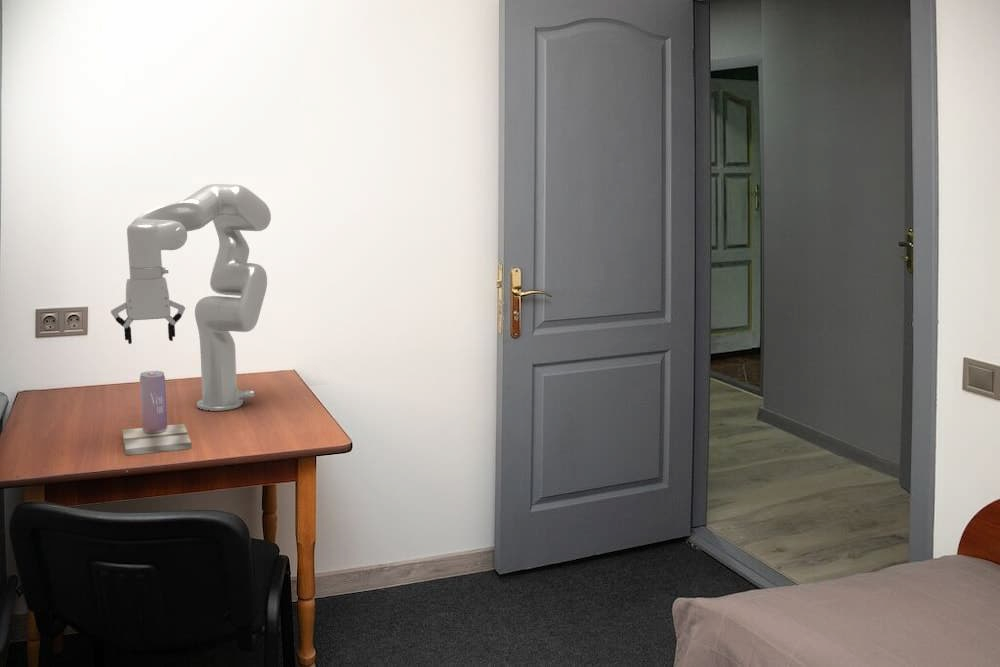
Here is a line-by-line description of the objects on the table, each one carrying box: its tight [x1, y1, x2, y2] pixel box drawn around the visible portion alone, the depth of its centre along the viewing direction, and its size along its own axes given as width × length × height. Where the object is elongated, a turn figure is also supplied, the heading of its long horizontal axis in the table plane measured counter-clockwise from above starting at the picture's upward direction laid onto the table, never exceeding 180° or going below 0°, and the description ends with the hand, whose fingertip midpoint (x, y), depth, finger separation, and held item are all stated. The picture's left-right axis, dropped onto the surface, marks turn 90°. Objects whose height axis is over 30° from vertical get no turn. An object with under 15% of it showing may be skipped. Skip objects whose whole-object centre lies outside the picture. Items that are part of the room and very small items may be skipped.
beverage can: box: [139, 370, 168, 434], centre depth 237 cm, size 6×6×15 cm
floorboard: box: [123, 433, 192, 456], centre depth 231 cm, size 15×8×2 cm, turn 114°
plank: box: [121, 423, 188, 443], centre depth 239 cm, size 15×8×2 cm, turn 114°
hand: (150, 341), depth 234 cm, fingers open, 9 cm apart
